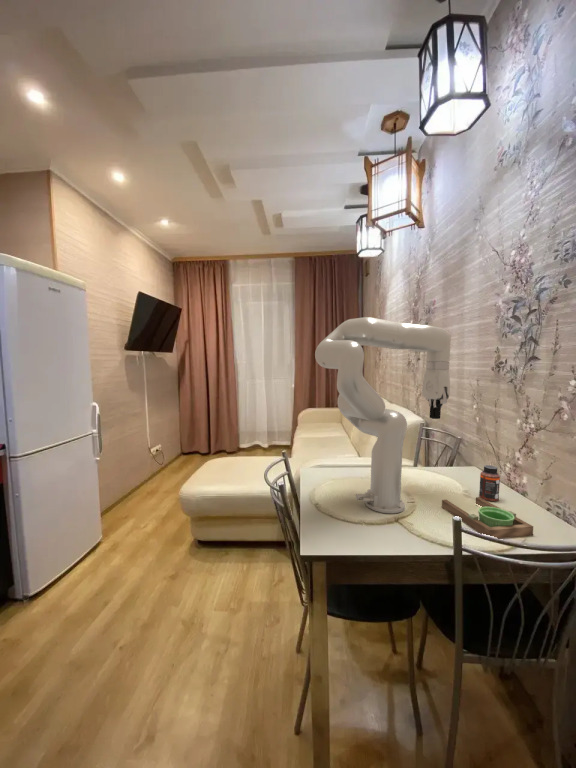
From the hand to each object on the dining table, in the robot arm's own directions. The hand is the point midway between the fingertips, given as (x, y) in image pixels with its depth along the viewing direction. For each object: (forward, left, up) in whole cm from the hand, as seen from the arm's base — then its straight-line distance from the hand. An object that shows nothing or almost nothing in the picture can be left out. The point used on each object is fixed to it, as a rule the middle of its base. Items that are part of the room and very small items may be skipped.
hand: (434, 418), depth 126 cm
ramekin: (+3, -27, -28) cm, 39 cm away
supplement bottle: (+17, -8, -27) cm, 33 cm away
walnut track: (+3, -22, -27) cm, 35 cm away
